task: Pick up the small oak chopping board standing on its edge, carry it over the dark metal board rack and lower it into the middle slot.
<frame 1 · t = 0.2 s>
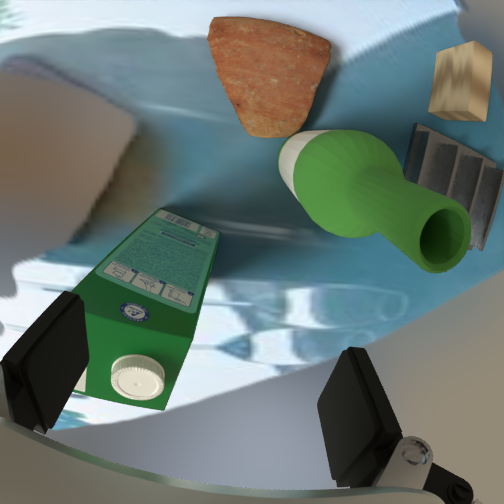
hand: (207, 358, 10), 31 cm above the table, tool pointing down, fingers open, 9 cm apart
wine bottle: (306, 161, 38), on the table
milk carton: (179, 249, 42), on the table
rack: (446, 190, 39), on the table
ceramic shard: (259, 79, 34), on the table
oak board: (441, 85, 33), on the table
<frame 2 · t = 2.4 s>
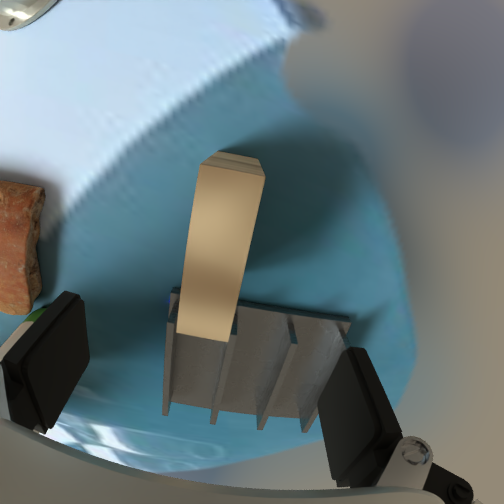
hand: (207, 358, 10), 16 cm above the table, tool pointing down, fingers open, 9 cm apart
wine bottle: (58, 331, 30), on the table
rack: (248, 363, 31), on the table
ceramic shard: (2, 240, 26), on the table
oak board: (225, 215, 25), on the table
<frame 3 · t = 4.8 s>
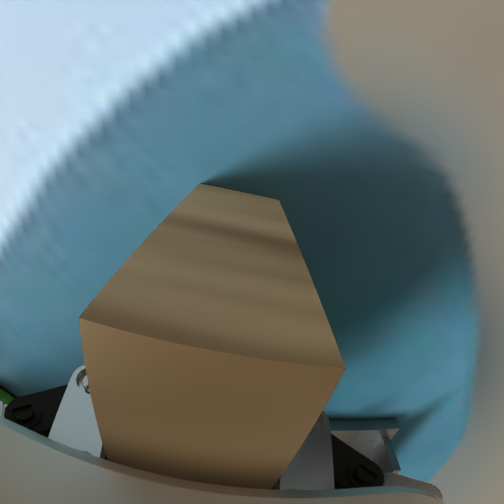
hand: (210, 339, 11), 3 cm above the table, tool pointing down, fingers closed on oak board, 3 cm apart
rack: (254, 469, 20), on the table
oak board: (217, 300, 14), on the table, touching gripper
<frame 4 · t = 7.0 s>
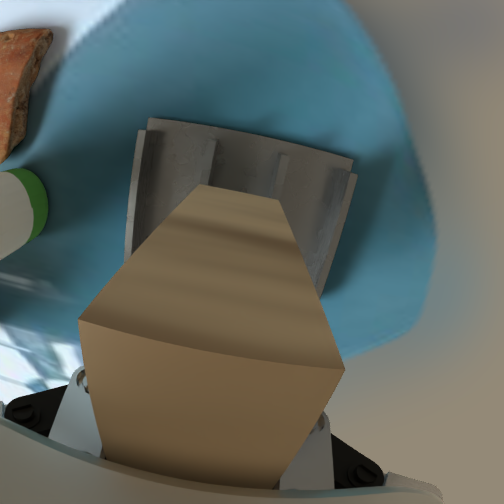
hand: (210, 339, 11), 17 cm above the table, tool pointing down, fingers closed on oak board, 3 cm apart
wine bottle: (27, 202, 26), on the table
rack: (233, 220, 27), on the table
oak board: (217, 300, 14), point 14 cm above the table, touching gripper
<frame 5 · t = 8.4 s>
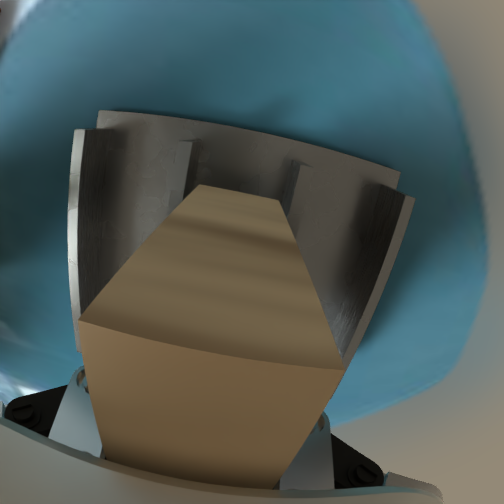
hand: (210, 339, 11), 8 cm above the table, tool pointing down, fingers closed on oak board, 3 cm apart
rack: (224, 258, 18), on the table
oak board: (217, 301, 14), point 5 cm above the table, touching gripper
when the fingers open (6 cm above the table, at t = 9.5 s): oak board drops 2 cm, resting on rack.
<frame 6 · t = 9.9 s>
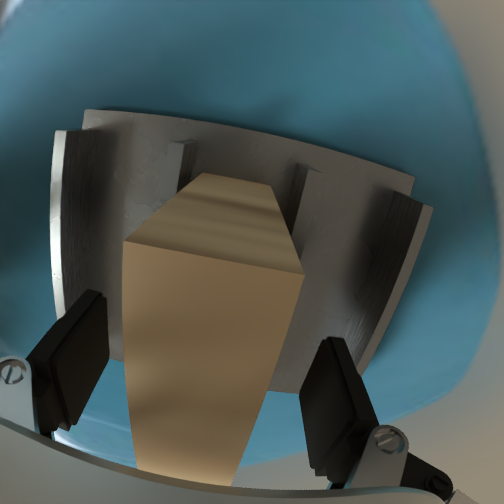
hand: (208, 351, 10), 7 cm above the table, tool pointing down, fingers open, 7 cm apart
rack: (222, 270, 17), on the table
oak board: (218, 275, 16), point 1 cm above the table, touching rack
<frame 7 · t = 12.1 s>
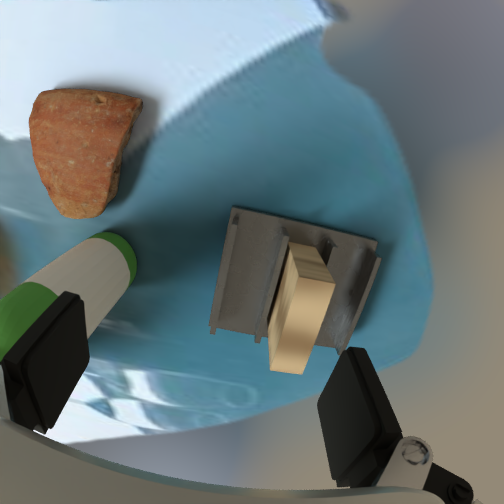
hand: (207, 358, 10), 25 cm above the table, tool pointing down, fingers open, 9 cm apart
wine bottle: (112, 258, 36), on the table
rack: (290, 282, 37), on the table
ceramic shard: (81, 151, 32), on the table
oak board: (290, 285, 36), point 1 cm above the table, touching rack
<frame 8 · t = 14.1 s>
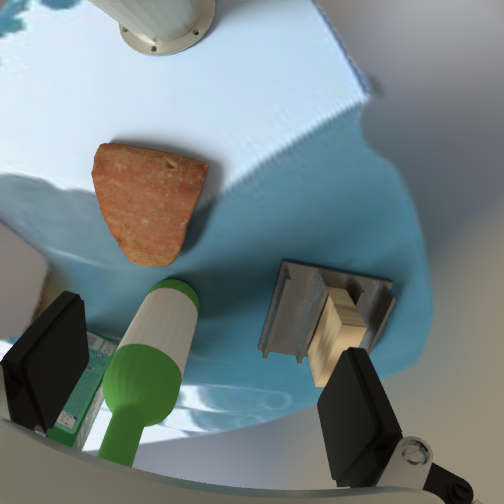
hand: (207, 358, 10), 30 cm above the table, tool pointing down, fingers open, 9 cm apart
wine bottle: (175, 299, 44), on the table
milk carton: (95, 351, 48), on the table
rack: (324, 315, 45), on the table
ceramic shard: (145, 203, 39), on the table
oak board: (325, 317, 44), point 1 cm above the table, touching rack
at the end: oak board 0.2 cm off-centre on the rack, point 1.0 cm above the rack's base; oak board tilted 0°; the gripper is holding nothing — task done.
